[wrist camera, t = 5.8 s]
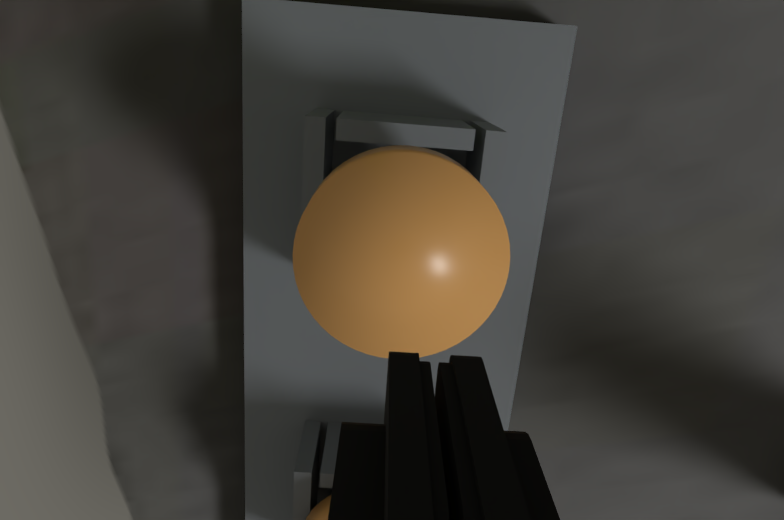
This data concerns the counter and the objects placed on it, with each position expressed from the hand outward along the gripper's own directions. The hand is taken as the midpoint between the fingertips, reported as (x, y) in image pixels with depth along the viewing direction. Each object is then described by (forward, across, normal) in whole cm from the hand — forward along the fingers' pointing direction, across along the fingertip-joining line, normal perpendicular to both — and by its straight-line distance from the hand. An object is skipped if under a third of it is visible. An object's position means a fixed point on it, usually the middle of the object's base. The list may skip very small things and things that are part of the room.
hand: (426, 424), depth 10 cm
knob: (+14, 0, 0) cm, 14 cm away
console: (+18, +1, +8) cm, 20 cm away
